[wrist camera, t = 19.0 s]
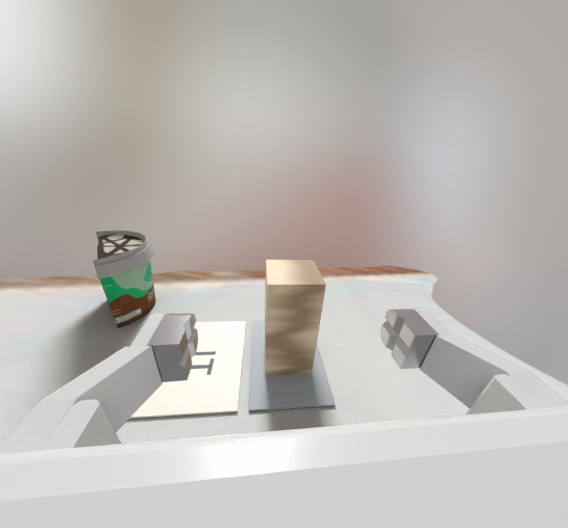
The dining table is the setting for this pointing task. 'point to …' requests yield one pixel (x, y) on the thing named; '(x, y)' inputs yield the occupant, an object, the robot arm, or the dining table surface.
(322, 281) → the birch block
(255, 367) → the board
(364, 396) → the dining table surface
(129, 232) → the food container
